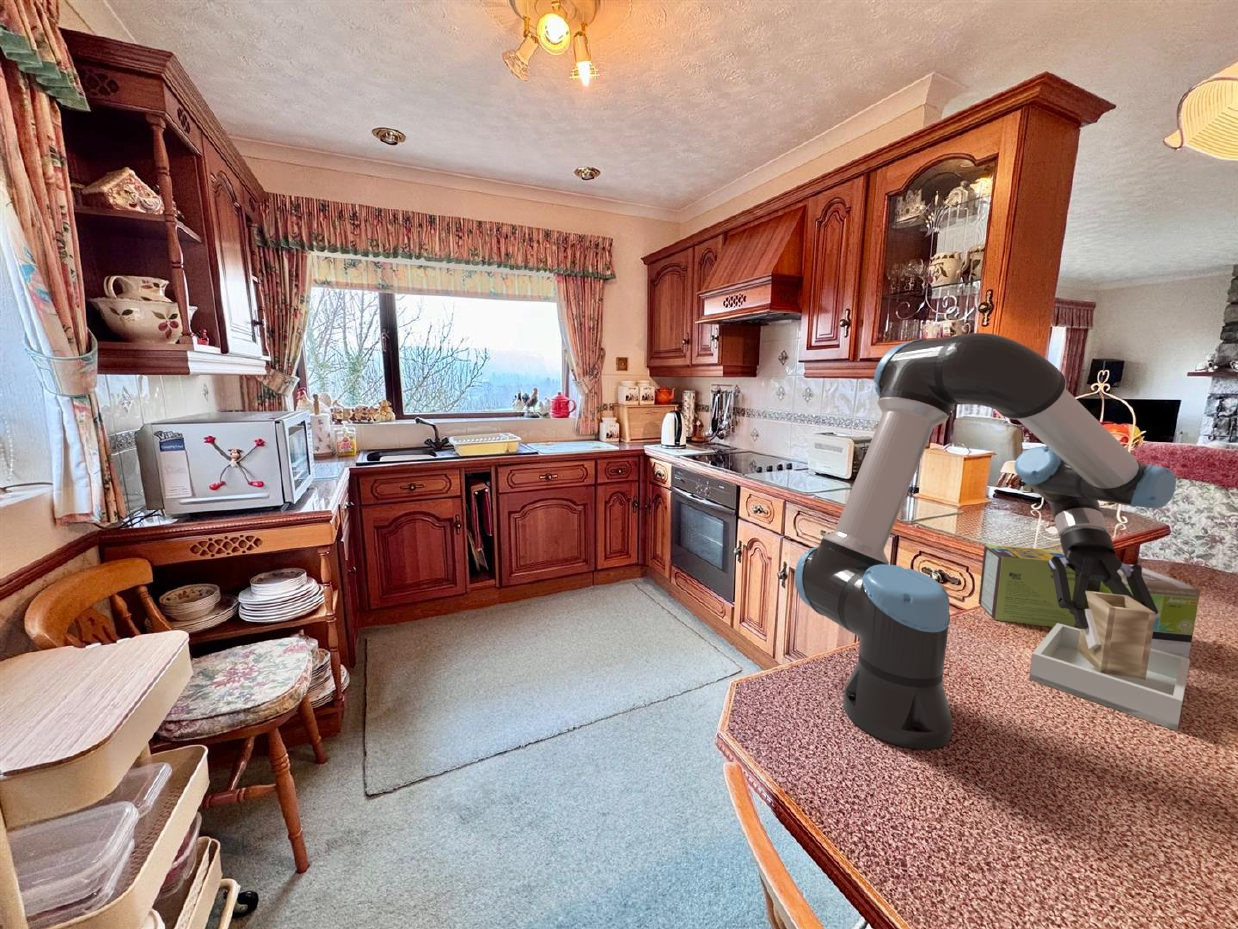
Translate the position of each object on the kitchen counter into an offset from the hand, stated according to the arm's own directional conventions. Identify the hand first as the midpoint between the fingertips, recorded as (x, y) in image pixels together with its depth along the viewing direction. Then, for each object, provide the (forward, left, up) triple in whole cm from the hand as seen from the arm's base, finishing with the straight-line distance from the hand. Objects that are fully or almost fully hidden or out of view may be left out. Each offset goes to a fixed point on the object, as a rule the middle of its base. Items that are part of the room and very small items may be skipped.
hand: (1119, 650), depth 86 cm
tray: (-1, +2, -7) cm, 7 cm away
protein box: (-18, +25, -7) cm, 32 cm away
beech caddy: (-1, +2, -4) cm, 4 cm away
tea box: (-1, +29, -7) cm, 30 cm away
